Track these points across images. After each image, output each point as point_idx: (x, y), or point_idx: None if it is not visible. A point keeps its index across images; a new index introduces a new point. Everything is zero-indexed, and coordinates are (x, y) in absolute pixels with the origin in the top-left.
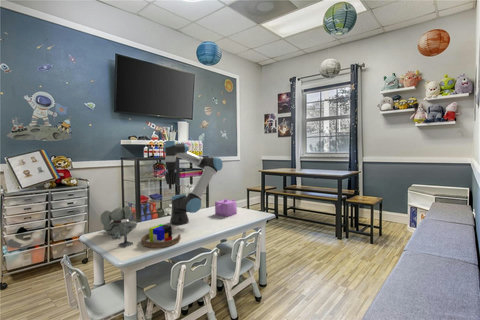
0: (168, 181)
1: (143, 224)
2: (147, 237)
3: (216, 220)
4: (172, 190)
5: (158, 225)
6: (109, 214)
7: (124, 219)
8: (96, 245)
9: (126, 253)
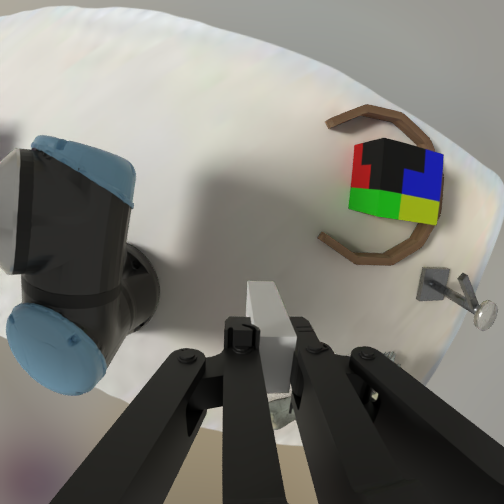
0: (407, 378)
1: None
2: (379, 255)
3: (29, 135)
4: (274, 294)
5: (396, 212)
6: None
7: (484, 323)
8: (440, 357)
9: (473, 224)
